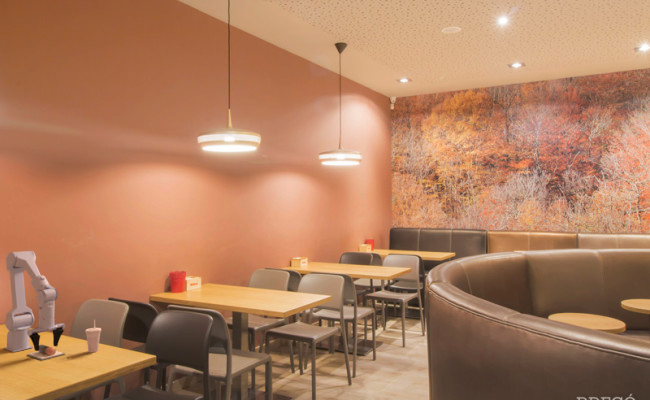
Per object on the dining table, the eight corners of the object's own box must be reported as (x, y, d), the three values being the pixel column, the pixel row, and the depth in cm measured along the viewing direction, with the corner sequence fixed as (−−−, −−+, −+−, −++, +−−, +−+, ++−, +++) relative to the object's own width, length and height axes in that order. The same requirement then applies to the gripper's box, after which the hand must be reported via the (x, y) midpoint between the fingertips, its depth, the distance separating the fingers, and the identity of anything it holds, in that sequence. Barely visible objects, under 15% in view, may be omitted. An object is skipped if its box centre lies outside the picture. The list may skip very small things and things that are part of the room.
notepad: (26, 355, 195) (26, 353, 195) (50, 349, 203) (50, 348, 203) (41, 360, 187) (41, 359, 187) (65, 354, 195) (65, 353, 196)
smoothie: (94, 353, 196) (94, 321, 197) (81, 353, 198) (82, 320, 198) (104, 349, 203) (104, 318, 203) (91, 348, 204) (92, 317, 204)
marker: (36, 352, 196) (37, 345, 197) (44, 350, 199) (44, 343, 199) (48, 356, 191) (48, 348, 191) (55, 354, 194) (56, 347, 194)
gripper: (33, 321, 187) (32, 354, 187) (68, 314, 199) (68, 345, 199) (25, 319, 191) (24, 351, 191) (60, 312, 203) (60, 343, 203)
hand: (46, 348), depth 195 cm, fingers open, 7 cm apart
